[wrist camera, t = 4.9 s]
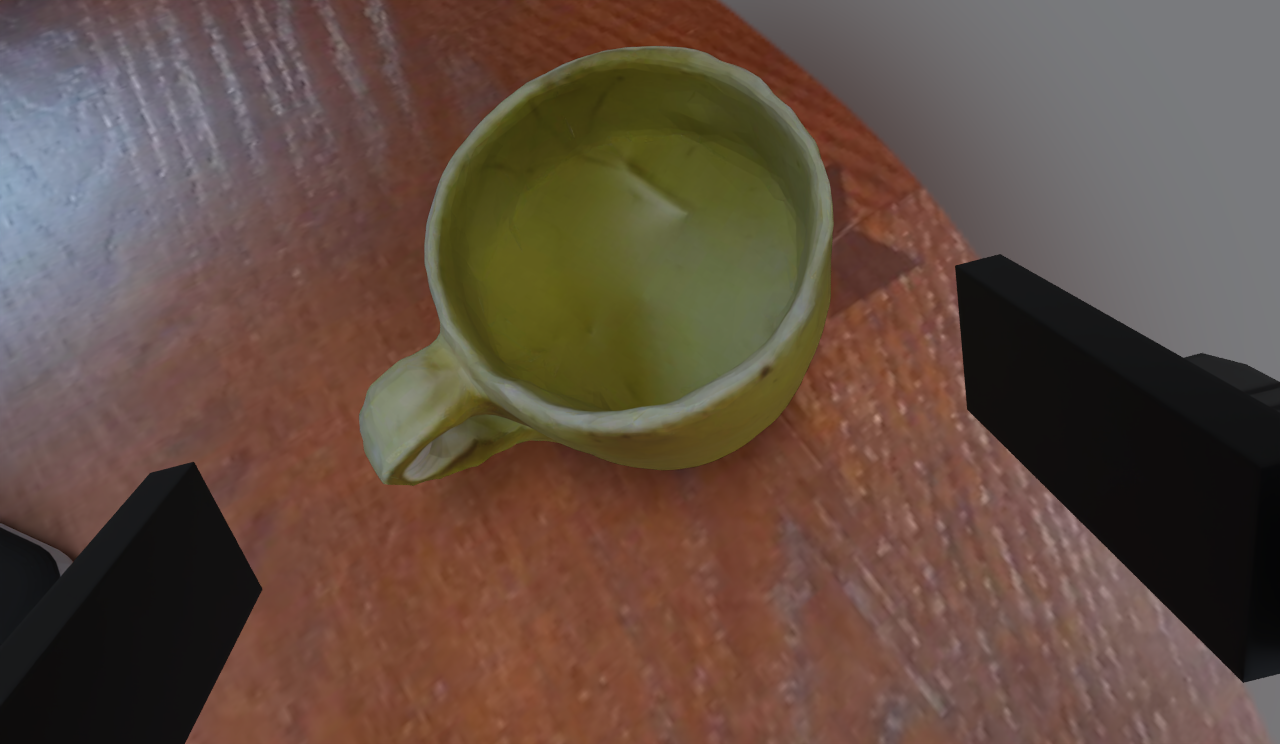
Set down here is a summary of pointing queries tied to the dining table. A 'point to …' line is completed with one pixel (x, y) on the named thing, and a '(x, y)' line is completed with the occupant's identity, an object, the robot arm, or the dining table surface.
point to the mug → (615, 272)
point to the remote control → (25, 575)
